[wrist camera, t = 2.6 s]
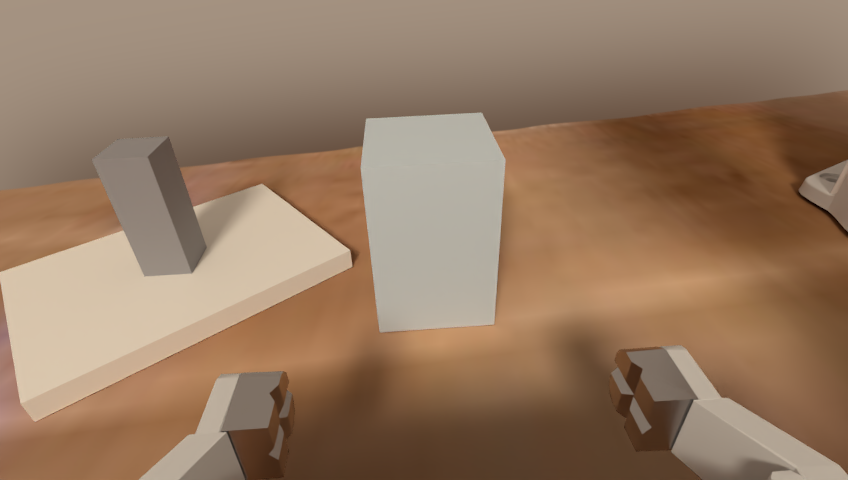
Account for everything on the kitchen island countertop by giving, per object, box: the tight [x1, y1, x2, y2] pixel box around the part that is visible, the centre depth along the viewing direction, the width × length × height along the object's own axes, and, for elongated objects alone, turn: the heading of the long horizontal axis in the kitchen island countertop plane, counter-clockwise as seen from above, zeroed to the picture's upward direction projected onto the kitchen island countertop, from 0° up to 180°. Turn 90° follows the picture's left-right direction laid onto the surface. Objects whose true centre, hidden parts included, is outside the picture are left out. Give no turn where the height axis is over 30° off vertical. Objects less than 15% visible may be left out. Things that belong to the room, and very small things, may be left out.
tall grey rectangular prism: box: [361, 113, 505, 332], centre depth 24 cm, size 6×6×9 cm
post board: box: [0, 137, 353, 422], centre depth 26 cm, size 16×12×8 cm
